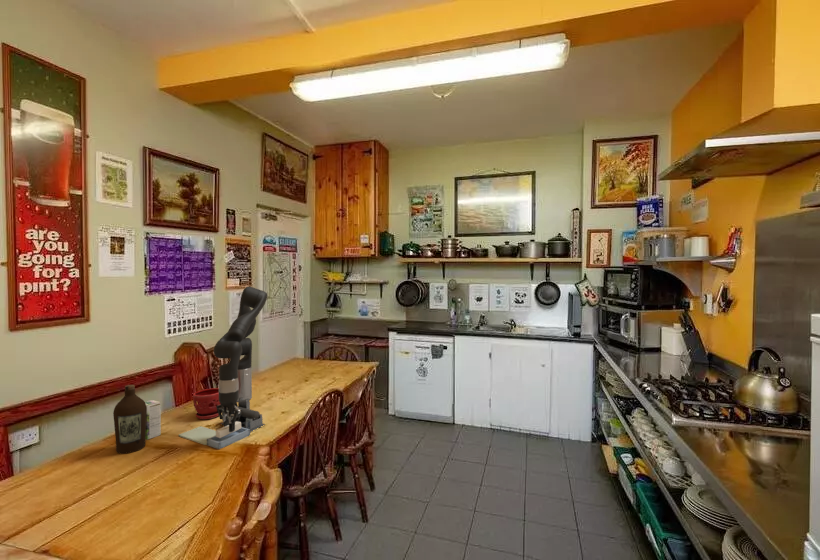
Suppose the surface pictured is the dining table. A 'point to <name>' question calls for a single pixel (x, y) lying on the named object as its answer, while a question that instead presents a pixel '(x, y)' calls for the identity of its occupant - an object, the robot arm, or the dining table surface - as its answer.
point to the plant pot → (206, 403)
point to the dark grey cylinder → (249, 413)
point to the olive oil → (130, 422)
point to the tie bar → (227, 430)
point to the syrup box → (153, 419)
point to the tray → (228, 438)
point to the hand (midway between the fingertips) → (229, 430)
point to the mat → (199, 434)
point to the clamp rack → (248, 422)
